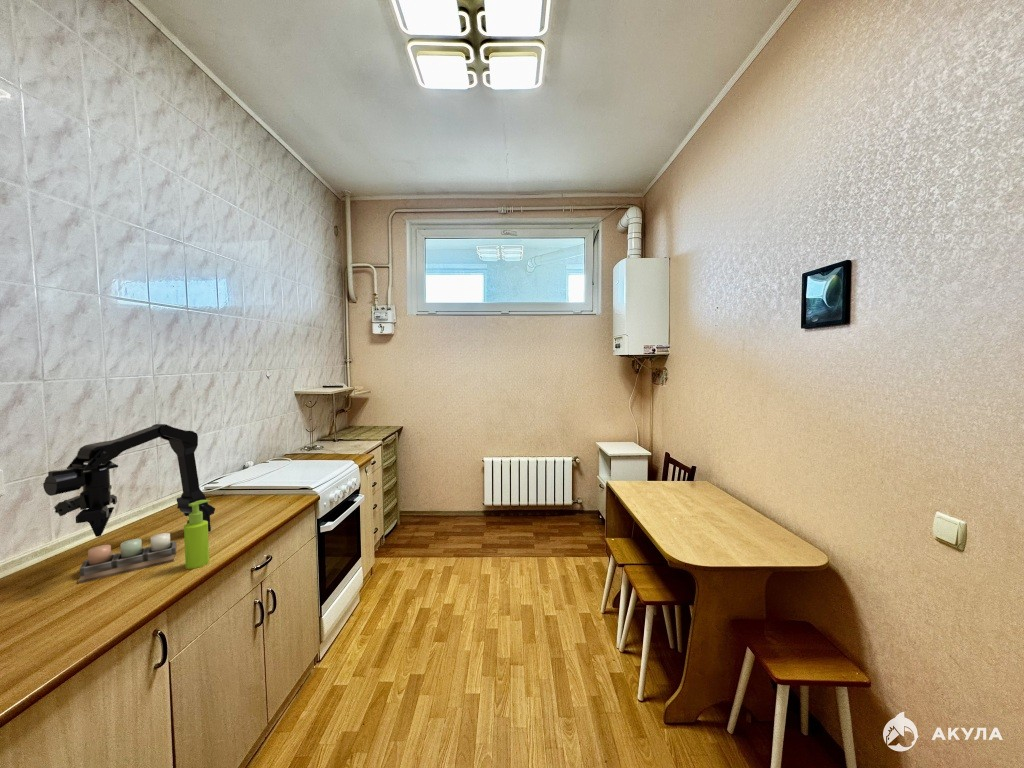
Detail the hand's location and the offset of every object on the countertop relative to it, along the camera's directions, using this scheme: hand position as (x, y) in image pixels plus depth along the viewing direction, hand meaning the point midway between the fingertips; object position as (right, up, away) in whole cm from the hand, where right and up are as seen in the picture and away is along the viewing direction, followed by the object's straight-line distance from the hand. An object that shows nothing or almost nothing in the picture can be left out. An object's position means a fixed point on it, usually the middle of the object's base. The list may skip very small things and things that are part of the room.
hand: (99, 535), depth 120 cm
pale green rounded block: (+5, -8, +5) cm, 11 cm away
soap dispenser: (+27, -11, +4) cm, 30 cm away
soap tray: (+5, -11, +5) cm, 13 cm away
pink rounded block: (0, -8, 0) cm, 8 cm away
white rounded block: (+11, -8, +9) cm, 16 cm away
